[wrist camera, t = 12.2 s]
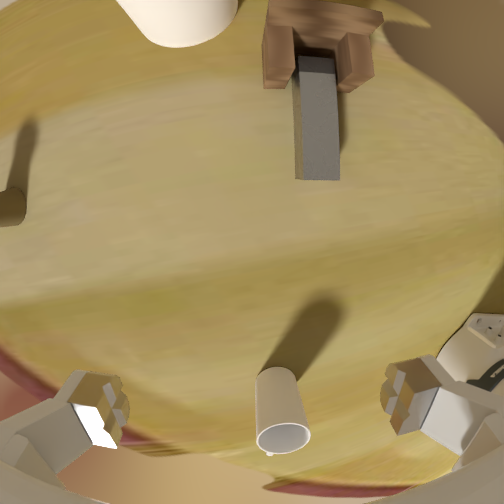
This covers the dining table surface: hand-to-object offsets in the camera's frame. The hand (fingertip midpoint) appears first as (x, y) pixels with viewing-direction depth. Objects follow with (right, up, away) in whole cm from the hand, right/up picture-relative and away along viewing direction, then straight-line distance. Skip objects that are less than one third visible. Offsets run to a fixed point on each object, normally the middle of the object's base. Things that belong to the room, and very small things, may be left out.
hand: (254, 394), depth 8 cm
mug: (+3, -17, +35) cm, 39 cm away
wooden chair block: (+7, +26, +23) cm, 36 cm away
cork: (-37, +11, +26) cm, 47 cm away
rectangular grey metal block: (+7, +20, +25) cm, 33 cm away
